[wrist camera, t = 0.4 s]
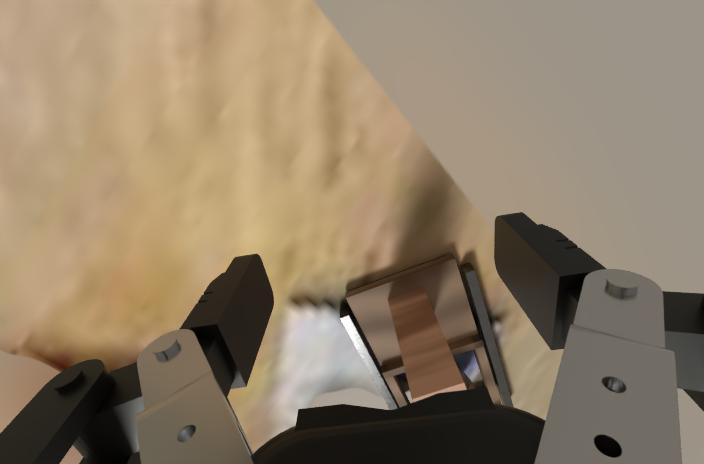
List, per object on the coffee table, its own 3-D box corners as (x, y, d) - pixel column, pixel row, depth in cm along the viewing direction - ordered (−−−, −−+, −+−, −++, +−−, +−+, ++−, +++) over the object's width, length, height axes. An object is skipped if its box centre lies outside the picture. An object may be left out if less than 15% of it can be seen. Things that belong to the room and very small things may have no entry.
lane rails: (339, 309, 37) (340, 318, 36) (469, 262, 35) (474, 270, 34) (405, 432, 47) (407, 442, 46) (509, 400, 46) (514, 410, 44)
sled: (345, 292, 36) (352, 398, 24) (451, 253, 35) (513, 346, 23) (409, 417, 46) (436, 536, 34) (494, 391, 44) (553, 505, 33)
